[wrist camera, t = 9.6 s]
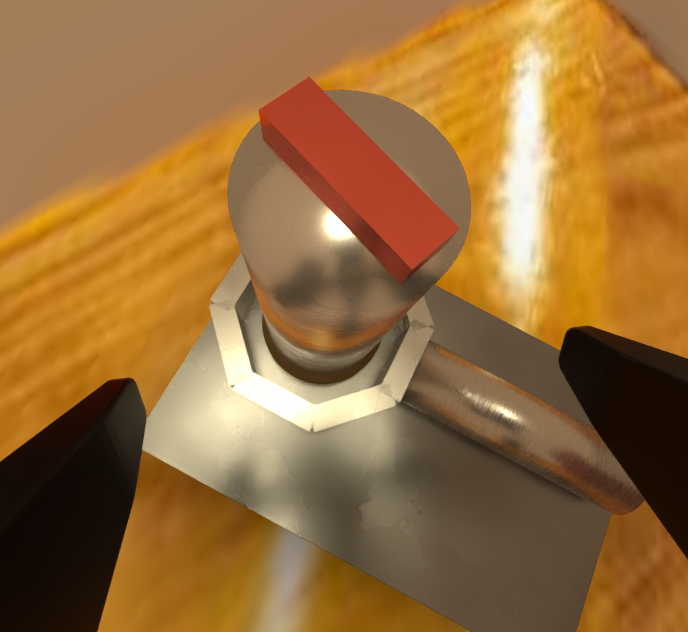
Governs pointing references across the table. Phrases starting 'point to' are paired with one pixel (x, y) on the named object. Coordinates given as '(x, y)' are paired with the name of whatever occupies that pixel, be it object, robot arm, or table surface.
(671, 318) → the table surface
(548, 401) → the metal plate with ring
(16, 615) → the robot arm
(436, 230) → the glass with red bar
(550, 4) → the table surface
